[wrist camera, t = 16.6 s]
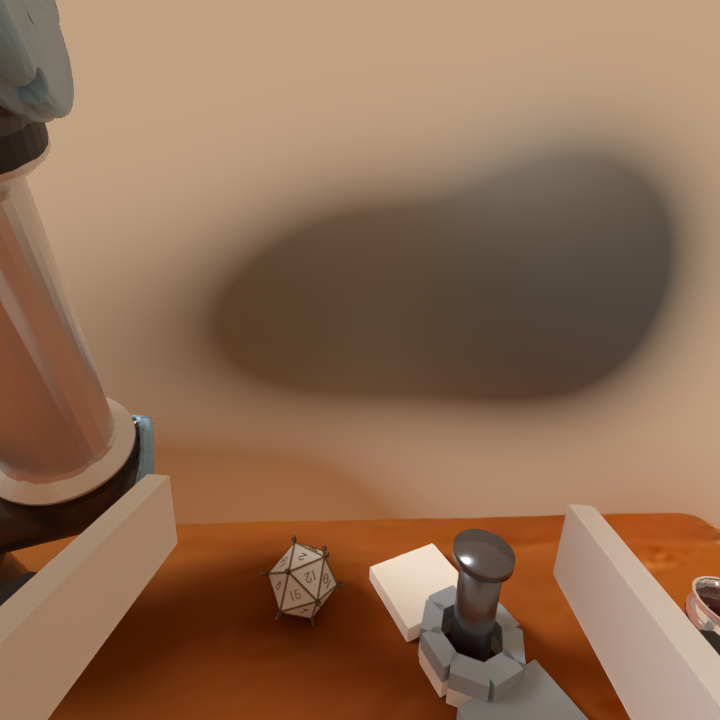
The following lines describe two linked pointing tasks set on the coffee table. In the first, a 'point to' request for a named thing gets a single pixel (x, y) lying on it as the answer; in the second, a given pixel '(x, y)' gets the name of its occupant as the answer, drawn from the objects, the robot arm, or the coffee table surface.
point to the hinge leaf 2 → (493, 670)
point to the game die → (302, 581)
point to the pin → (478, 590)
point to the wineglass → (704, 604)
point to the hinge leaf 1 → (418, 601)
